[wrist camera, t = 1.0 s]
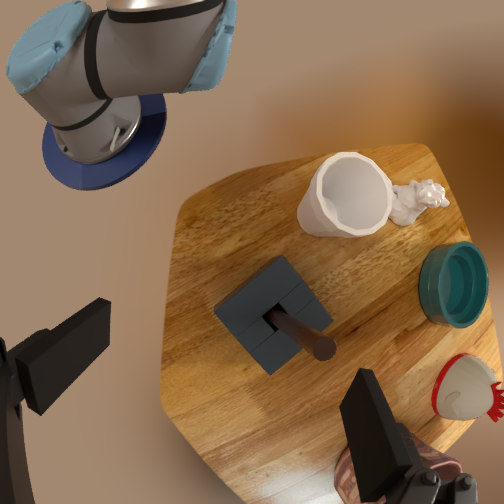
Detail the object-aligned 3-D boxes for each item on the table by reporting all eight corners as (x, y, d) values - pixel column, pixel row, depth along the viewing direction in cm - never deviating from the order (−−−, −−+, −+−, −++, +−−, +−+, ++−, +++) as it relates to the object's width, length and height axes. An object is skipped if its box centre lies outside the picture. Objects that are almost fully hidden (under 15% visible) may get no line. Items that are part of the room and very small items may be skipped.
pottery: (406, 400, 42) (472, 437, 24) (404, 465, 41) (453, 506, 24) (317, 438, 40) (364, 502, 22) (326, 500, 39) (362, 558, 21)
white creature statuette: (415, 184, 45) (459, 163, 34) (417, 231, 45) (465, 220, 33) (372, 173, 44) (413, 147, 32) (373, 224, 44) (419, 210, 32)
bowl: (410, 253, 44) (432, 250, 38) (461, 238, 46) (482, 235, 40) (420, 335, 43) (442, 340, 38) (470, 310, 45) (491, 312, 40)
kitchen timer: (429, 425, 43) (476, 453, 28) (432, 367, 43) (489, 387, 29) (472, 399, 44) (517, 417, 30) (476, 344, 45) (528, 354, 30)
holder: (213, 306, 40) (213, 311, 34) (272, 257, 41) (282, 254, 35) (262, 362, 40) (270, 375, 34) (318, 314, 41) (334, 320, 35)
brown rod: (260, 306, 40) (310, 340, 19) (272, 303, 41) (335, 333, 19) (262, 318, 40) (314, 364, 19) (275, 316, 41) (338, 357, 19)
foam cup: (351, 198, 43) (397, 172, 31) (337, 255, 42) (384, 247, 30) (295, 176, 43) (326, 139, 30) (278, 234, 42) (305, 216, 29)
